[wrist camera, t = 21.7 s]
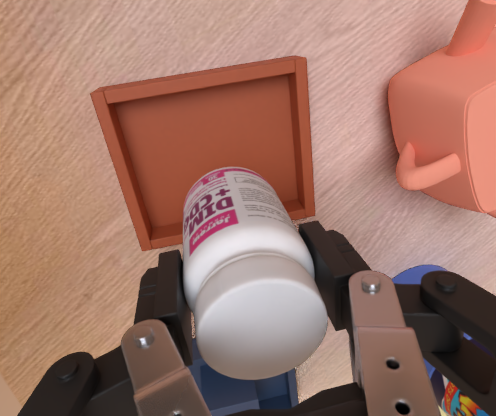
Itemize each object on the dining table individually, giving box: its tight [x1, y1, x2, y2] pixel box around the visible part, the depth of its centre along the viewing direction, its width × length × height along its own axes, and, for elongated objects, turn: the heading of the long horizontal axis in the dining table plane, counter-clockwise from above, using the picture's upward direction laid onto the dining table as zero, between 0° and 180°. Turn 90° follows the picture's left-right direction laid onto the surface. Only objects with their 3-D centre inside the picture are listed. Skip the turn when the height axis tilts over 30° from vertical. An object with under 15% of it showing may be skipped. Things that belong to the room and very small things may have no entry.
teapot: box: [388, 0, 496, 218], centre depth 24 cm, size 14×12×10 cm
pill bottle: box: [183, 167, 328, 380], centre depth 14 cm, size 5×5×8 cm
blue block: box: [200, 365, 260, 416], centre depth 35 cm, size 5×5×5 cm
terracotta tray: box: [90, 56, 315, 251], centre depth 26 cm, size 14×12×3 cm
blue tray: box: [187, 338, 299, 409], centre depth 36 cm, size 14×12×3 cm
